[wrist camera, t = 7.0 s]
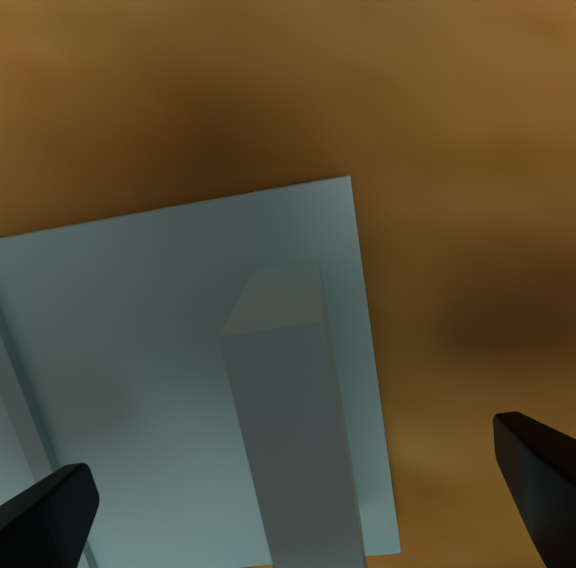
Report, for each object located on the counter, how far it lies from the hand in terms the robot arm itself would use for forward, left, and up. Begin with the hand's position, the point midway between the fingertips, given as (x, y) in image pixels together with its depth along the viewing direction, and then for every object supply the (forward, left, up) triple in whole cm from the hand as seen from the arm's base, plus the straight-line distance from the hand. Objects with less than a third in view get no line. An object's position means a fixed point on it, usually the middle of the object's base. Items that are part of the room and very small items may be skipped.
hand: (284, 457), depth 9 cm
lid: (+5, 0, -3) cm, 6 cm away
